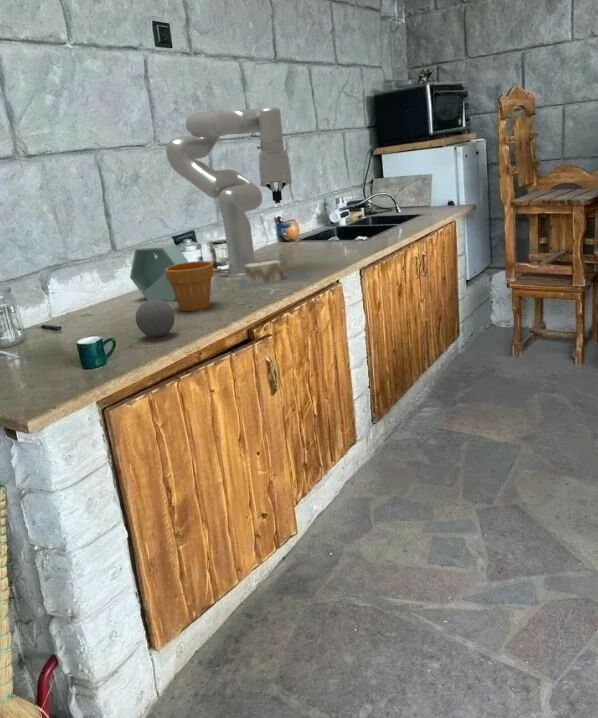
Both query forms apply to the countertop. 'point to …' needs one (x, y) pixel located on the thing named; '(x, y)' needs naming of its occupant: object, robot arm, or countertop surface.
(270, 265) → the birch block
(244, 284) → the slate mat
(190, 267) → the flower pot
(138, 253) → the planter
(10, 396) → the countertop surface
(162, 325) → the decorative ball
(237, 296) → the countertop surface
